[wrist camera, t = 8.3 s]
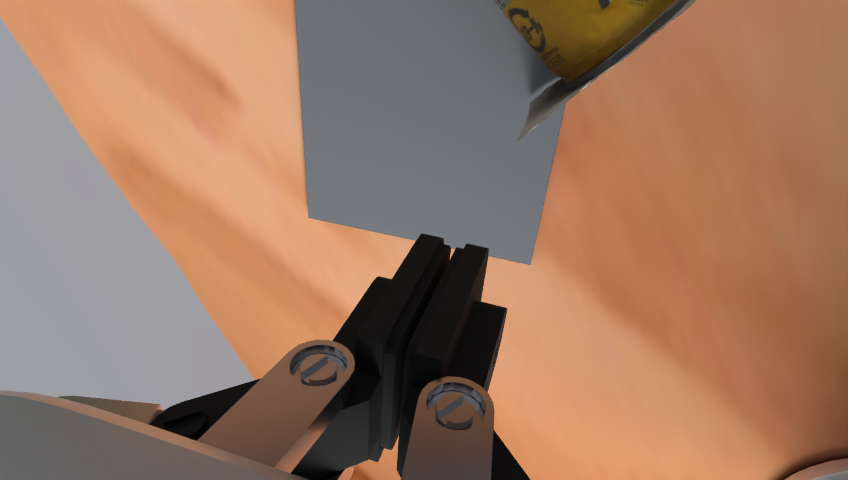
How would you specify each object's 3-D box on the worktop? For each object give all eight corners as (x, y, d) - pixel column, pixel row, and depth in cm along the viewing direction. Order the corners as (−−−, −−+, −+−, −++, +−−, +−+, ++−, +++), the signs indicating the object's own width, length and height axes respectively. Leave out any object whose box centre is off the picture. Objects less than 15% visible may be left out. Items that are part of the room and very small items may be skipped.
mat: (531, 260, 31) (530, 264, 31) (312, 213, 34) (308, 217, 33) (624, -169, 20) (625, -170, 20) (288, -186, 23) (282, -188, 22)
